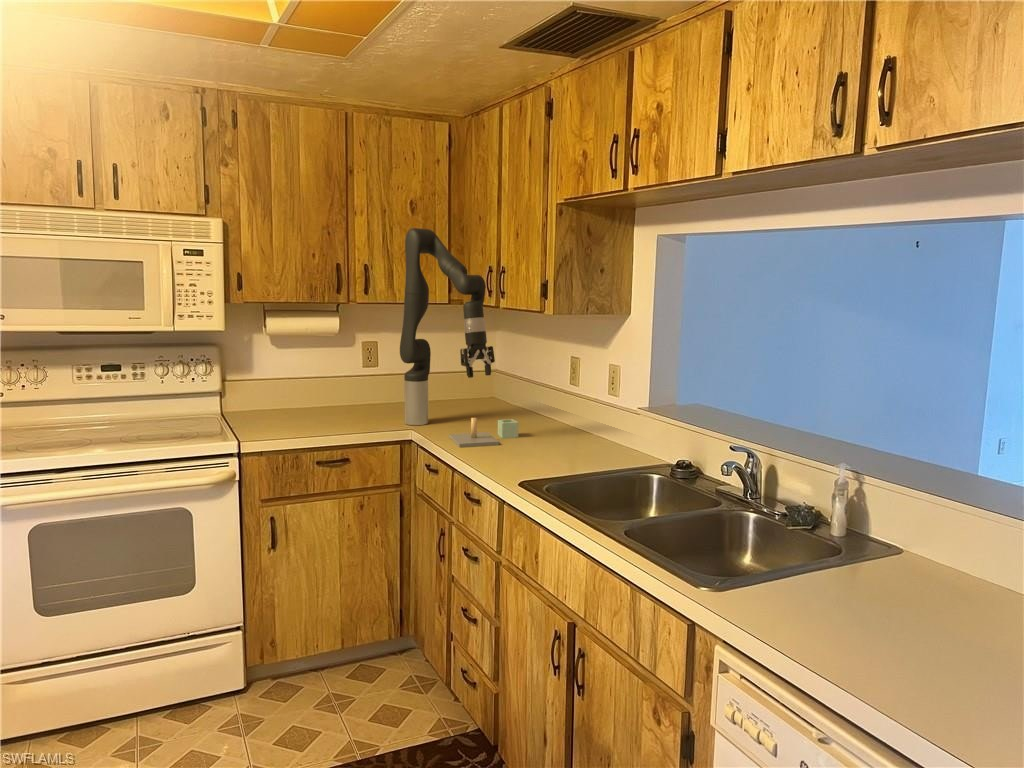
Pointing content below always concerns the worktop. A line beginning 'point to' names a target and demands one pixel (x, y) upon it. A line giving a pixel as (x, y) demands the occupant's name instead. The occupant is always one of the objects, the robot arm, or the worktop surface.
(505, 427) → the collar
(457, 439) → the board
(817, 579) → the worktop surface
